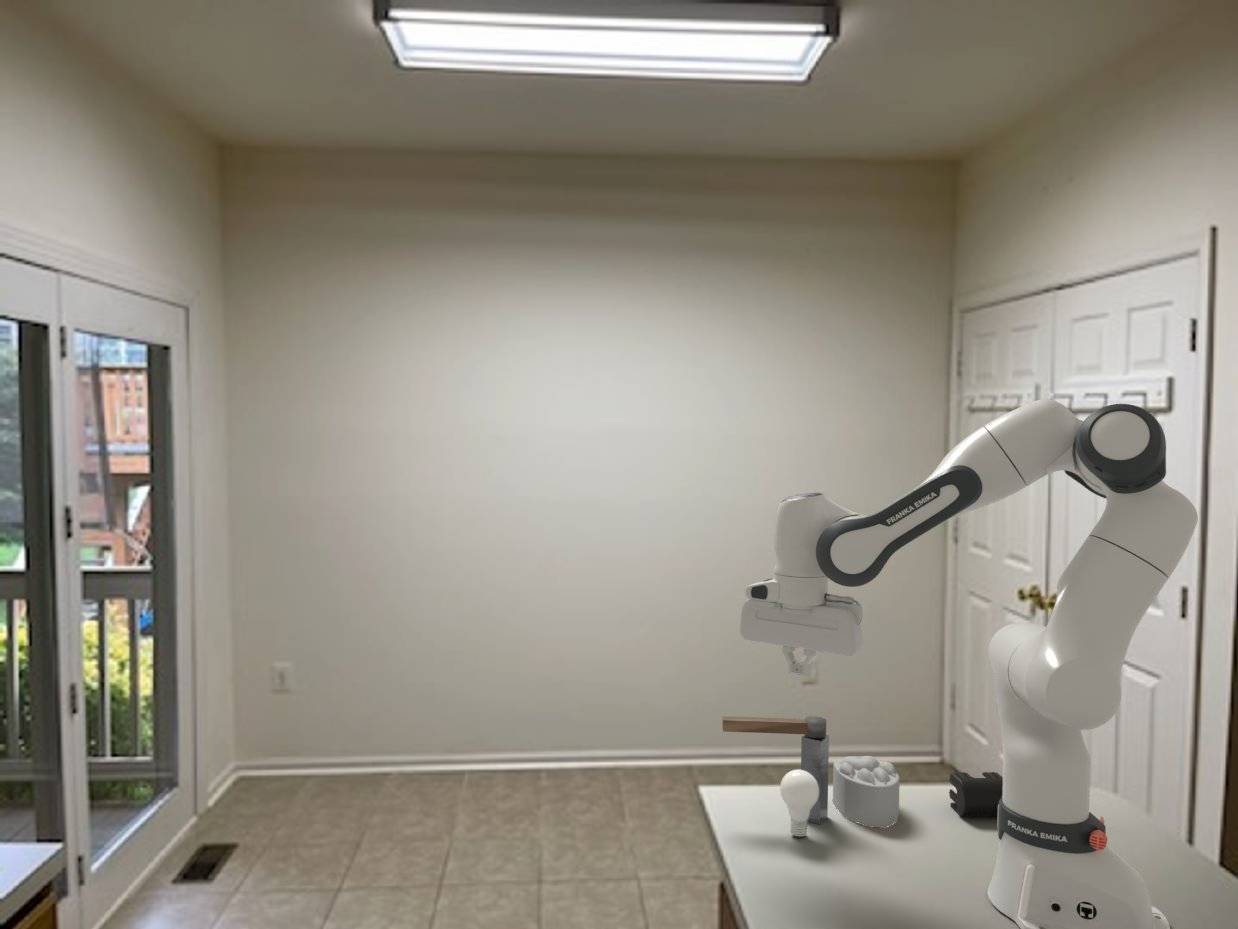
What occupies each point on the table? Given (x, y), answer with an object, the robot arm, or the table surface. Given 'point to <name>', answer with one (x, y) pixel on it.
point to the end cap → (976, 794)
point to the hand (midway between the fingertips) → (798, 674)
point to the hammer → (777, 725)
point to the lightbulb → (799, 798)
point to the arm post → (817, 772)
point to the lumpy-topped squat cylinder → (866, 790)
